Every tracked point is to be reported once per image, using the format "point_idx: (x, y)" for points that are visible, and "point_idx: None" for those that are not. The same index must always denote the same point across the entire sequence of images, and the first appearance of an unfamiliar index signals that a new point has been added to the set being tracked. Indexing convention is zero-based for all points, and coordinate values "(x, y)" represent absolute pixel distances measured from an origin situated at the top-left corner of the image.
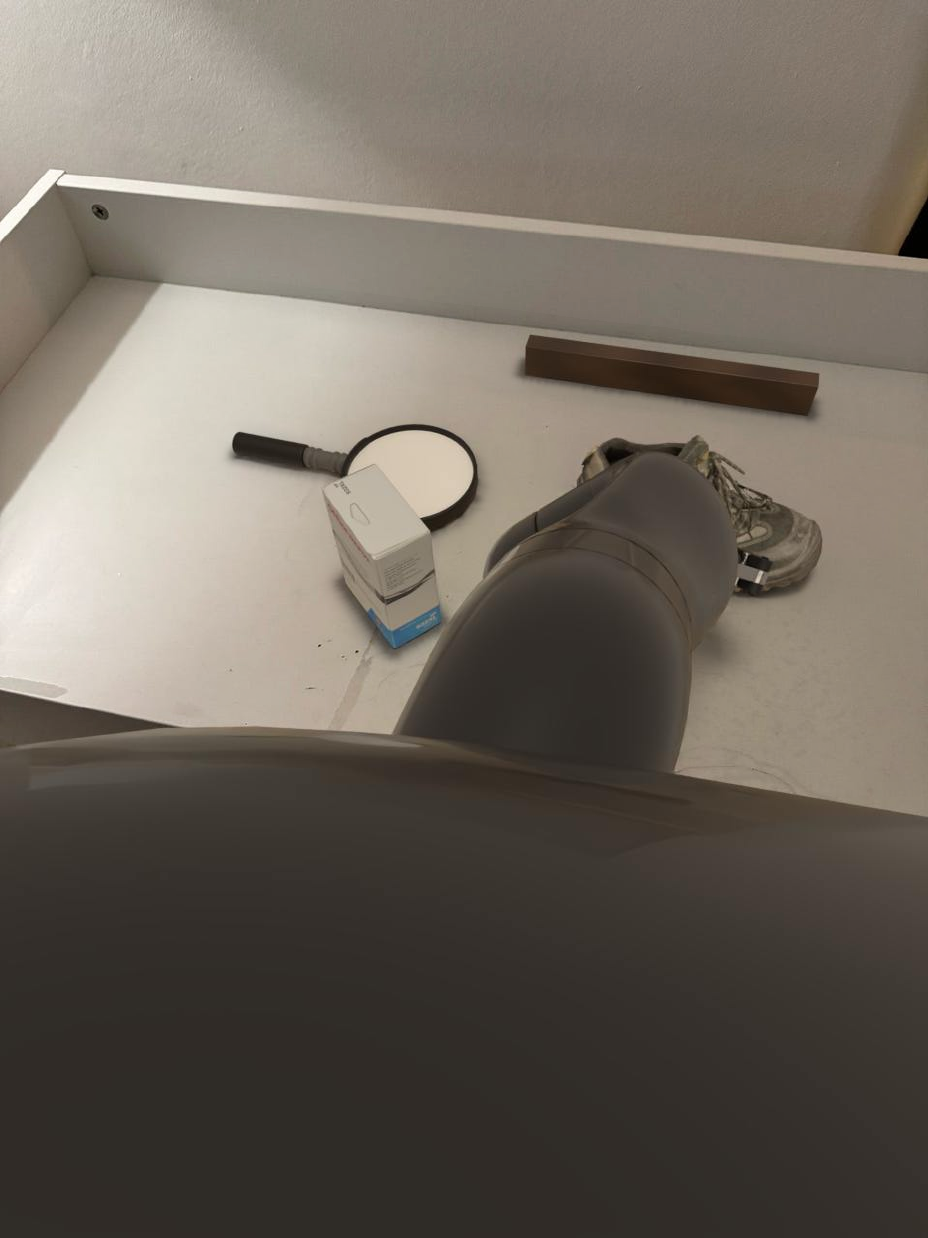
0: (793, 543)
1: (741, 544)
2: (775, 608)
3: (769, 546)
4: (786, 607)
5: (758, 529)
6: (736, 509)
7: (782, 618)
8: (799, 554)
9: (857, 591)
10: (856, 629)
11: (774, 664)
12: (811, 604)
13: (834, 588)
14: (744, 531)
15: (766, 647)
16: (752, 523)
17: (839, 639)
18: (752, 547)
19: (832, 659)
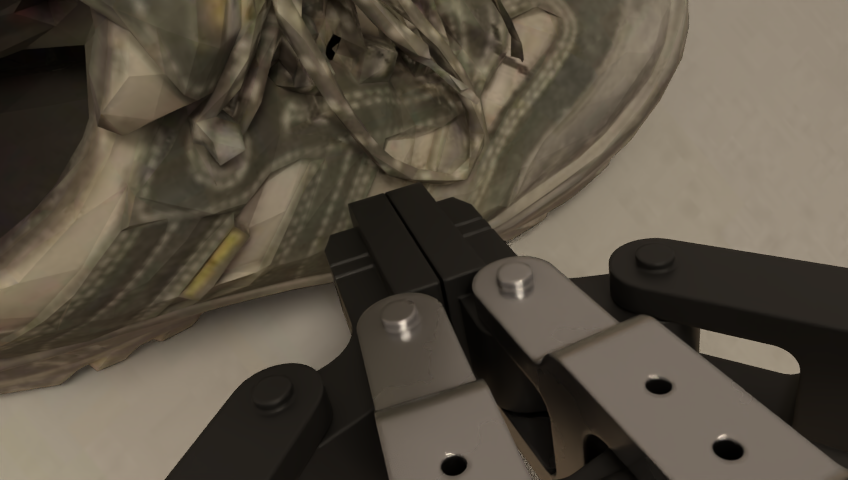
0: (646, 5)
1: (512, 113)
2: (637, 185)
3: (596, 64)
4: (653, 162)
5: (526, 29)
6: (417, 7)
7: (672, 199)
8: (667, 24)
9: (729, 3)
10: (808, 100)
11: (765, 343)
12: (687, 110)
13: (688, 30)
14: (489, 64)
15: None
16: (495, 21)
17: (806, 154)
18: (549, 100)
19: (839, 218)
